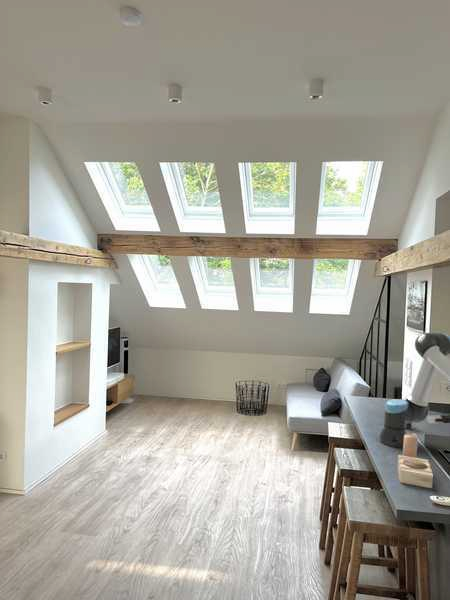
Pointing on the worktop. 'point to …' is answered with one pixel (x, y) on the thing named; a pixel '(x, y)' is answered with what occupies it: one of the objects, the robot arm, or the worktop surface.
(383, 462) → the worktop surface
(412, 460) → the plinth
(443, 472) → the worktop surface
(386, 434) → the robot arm
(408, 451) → the slanted peach cylinder
